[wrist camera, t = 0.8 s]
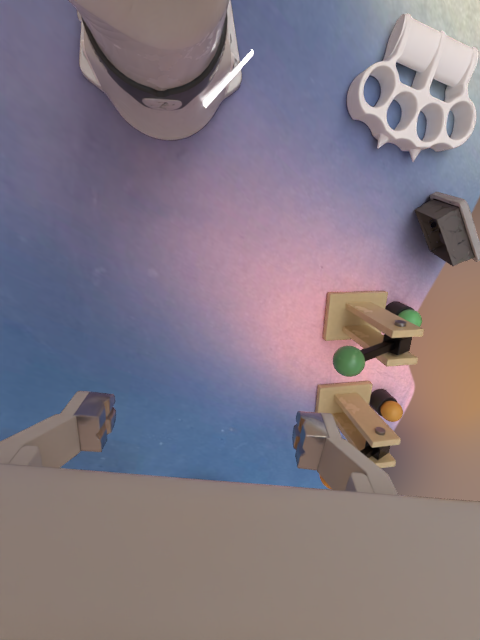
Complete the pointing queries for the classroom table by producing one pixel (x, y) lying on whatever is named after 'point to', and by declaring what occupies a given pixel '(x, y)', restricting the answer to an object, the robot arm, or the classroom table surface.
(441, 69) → the knuckle duster
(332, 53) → the classroom table surface
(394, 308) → the green lamp
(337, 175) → the classroom table surface
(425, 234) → the electrical switch
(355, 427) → the tan wooden upright frame
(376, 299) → the wooden lever stand
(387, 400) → the amber lamp
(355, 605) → the robot arm
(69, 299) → the classroom table surface
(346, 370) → the green switch
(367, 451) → the amber switch
